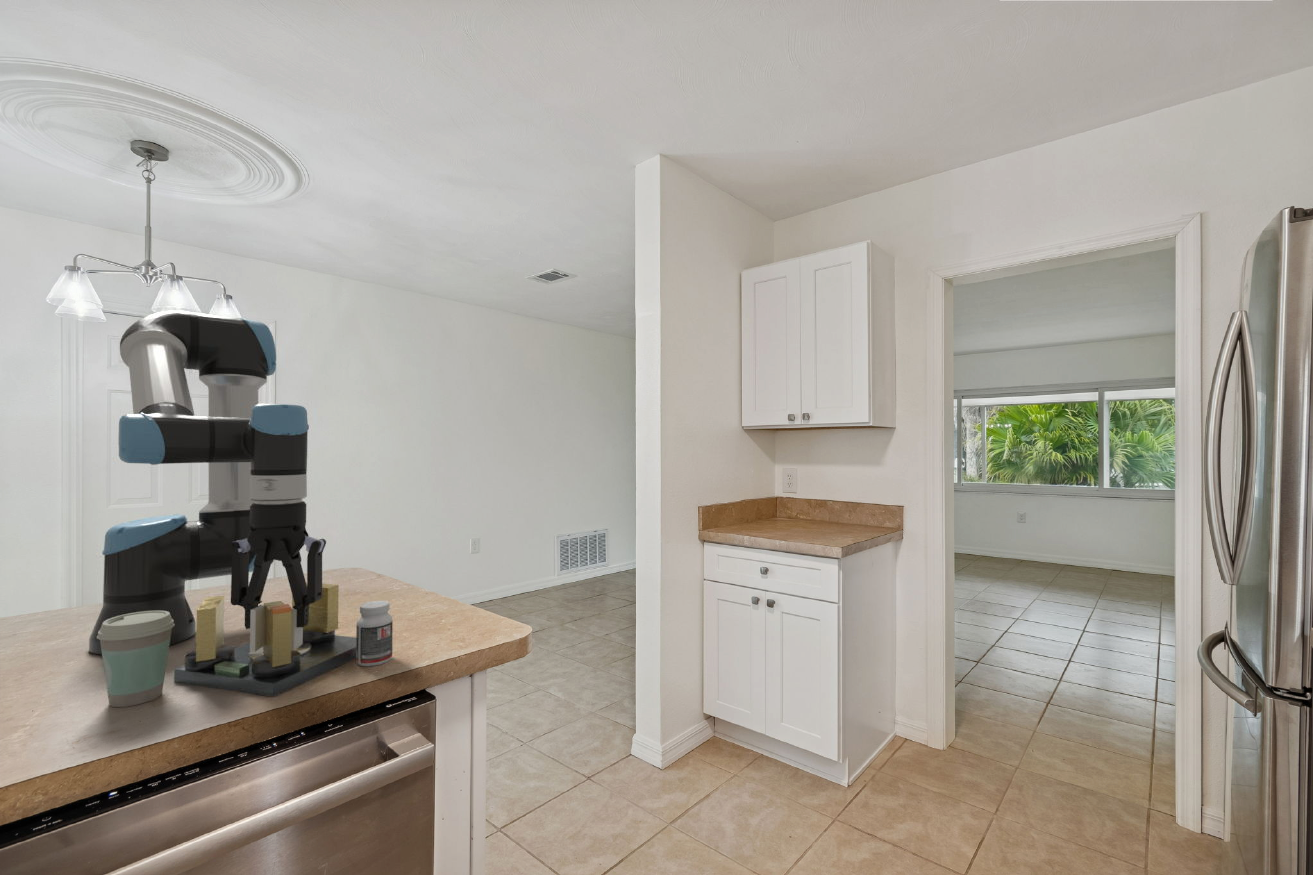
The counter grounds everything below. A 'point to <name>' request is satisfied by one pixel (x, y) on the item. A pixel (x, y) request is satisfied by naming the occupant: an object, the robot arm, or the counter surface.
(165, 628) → the coffee cup
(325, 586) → the foot screw
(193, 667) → the foot screw
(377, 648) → the pill bottle
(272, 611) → the tan bar on disc
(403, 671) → the counter surface
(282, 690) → the plate
